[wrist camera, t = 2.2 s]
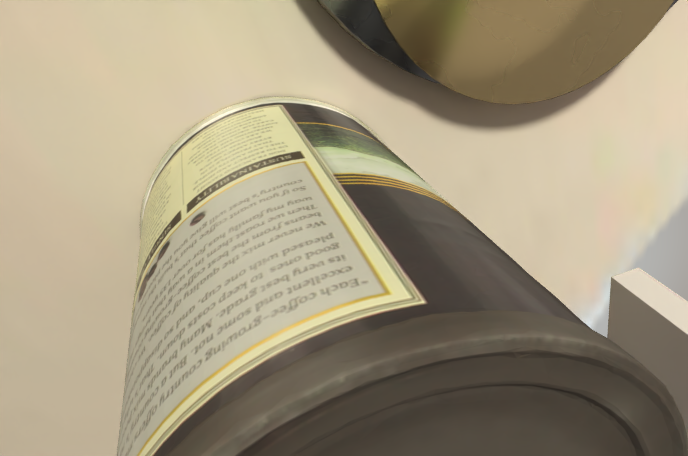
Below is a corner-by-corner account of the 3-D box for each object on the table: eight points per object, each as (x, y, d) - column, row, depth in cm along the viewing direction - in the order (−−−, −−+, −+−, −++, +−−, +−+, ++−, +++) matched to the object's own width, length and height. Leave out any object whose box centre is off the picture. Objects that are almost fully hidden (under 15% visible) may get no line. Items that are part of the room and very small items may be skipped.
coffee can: (415, 87, 20) (785, 293, 8) (395, 318, 25) (612, 671, 13) (114, 97, 18) (-7, 428, 5) (155, 354, 22) (138, 843, 10)
